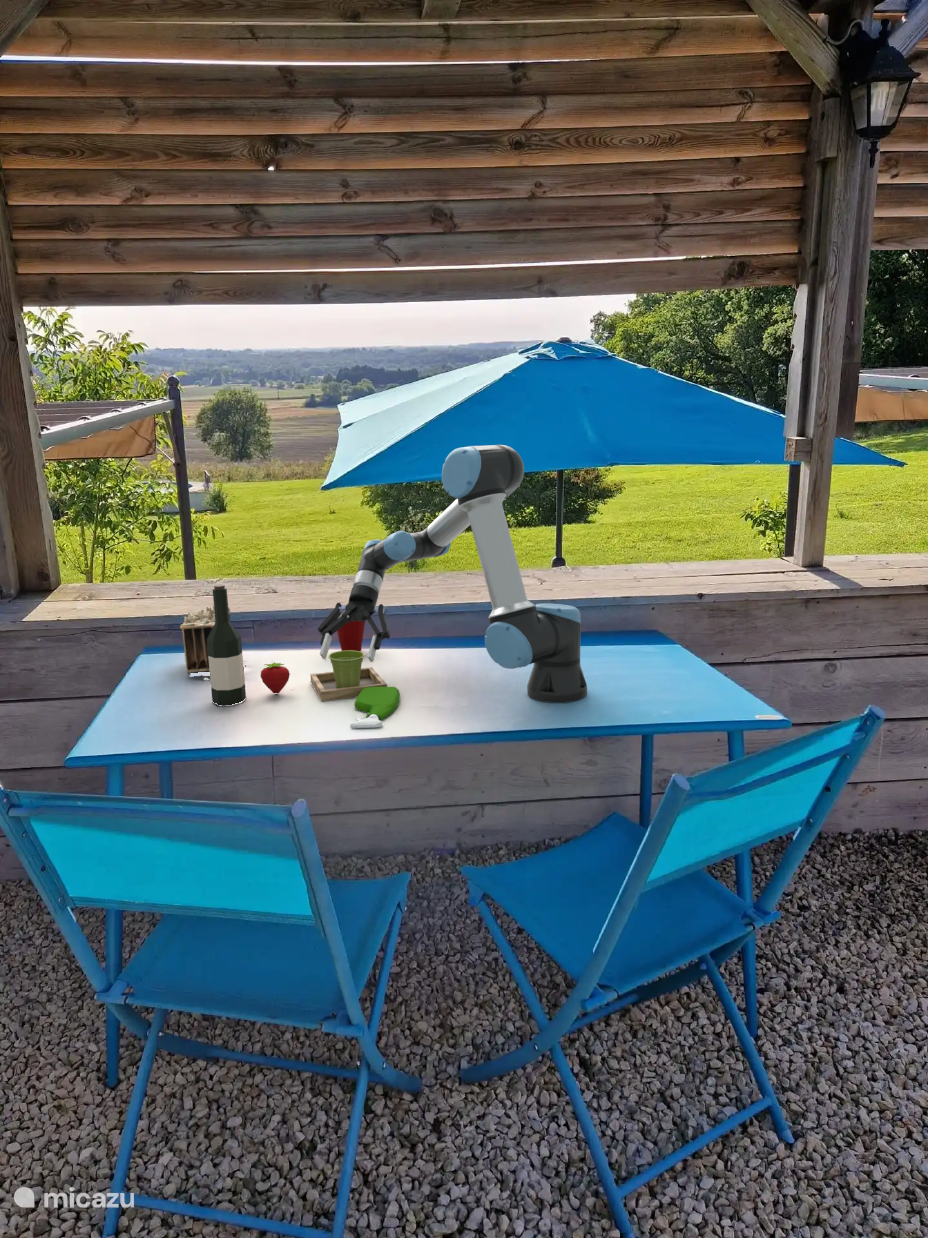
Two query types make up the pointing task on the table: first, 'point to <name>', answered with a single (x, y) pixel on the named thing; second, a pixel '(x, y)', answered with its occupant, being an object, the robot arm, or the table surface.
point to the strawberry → (275, 676)
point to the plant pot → (347, 667)
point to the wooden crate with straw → (197, 639)
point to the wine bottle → (225, 654)
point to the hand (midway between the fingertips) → (346, 658)
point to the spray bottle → (375, 705)
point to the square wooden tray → (329, 691)
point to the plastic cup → (351, 635)
